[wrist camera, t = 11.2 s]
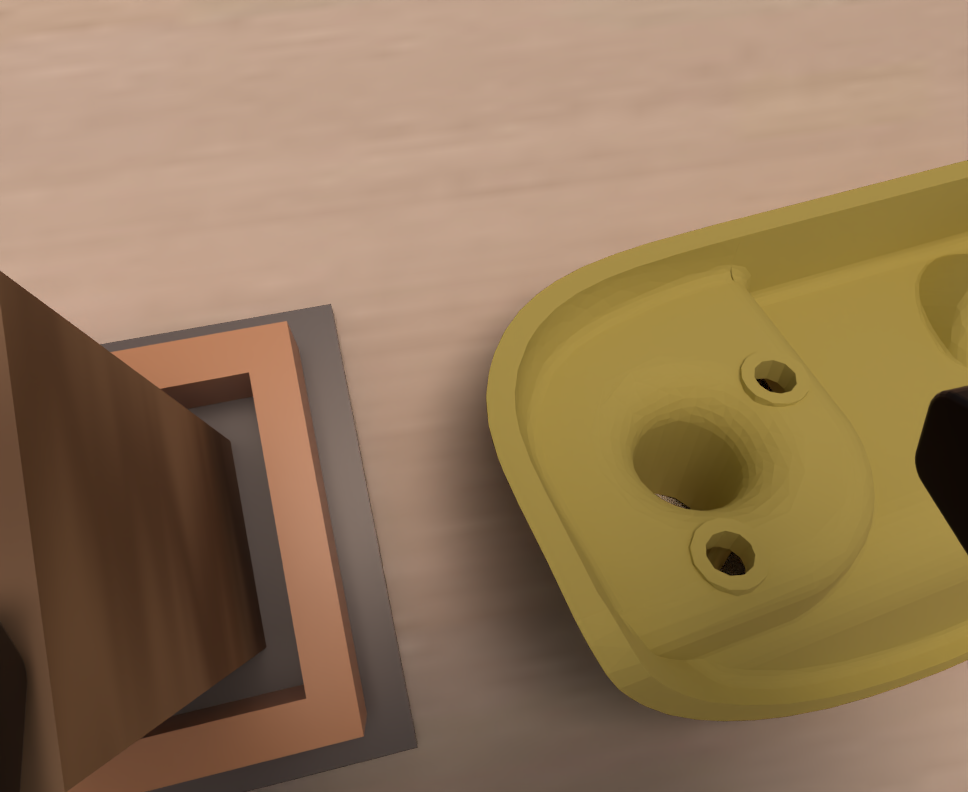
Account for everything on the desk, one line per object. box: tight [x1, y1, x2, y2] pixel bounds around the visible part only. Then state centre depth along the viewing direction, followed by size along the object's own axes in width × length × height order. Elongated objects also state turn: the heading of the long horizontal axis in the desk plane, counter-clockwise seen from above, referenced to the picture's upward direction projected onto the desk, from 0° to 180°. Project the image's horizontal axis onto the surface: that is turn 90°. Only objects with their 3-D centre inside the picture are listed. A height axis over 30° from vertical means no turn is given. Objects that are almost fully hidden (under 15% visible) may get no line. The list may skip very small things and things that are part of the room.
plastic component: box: [486, 160, 968, 721], centre depth 21 cm, size 20×7×10 cm
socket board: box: [67, 304, 417, 792], centre depth 19 cm, size 11×11×3 cm
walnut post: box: [0, 271, 266, 792], centre depth 14 cm, size 5×5×12 cm
